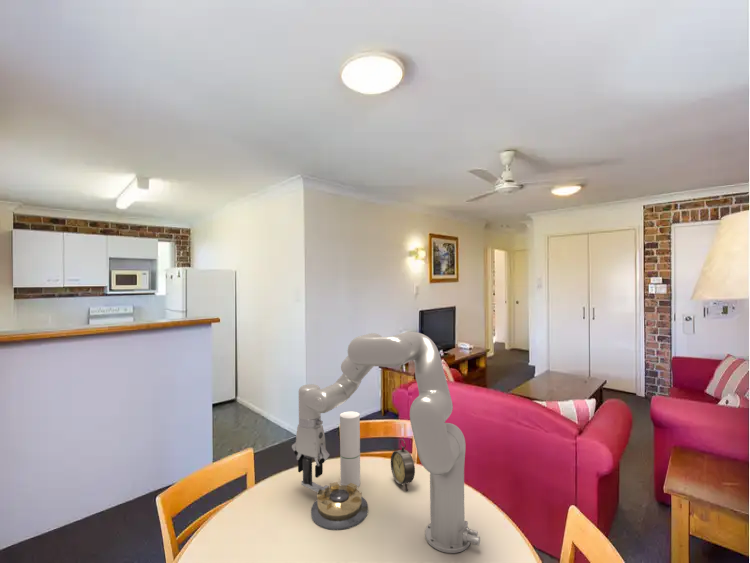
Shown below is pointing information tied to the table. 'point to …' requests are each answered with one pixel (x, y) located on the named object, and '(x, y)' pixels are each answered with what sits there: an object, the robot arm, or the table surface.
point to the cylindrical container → (350, 448)
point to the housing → (339, 523)
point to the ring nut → (333, 496)
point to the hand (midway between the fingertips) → (310, 472)
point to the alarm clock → (402, 466)
